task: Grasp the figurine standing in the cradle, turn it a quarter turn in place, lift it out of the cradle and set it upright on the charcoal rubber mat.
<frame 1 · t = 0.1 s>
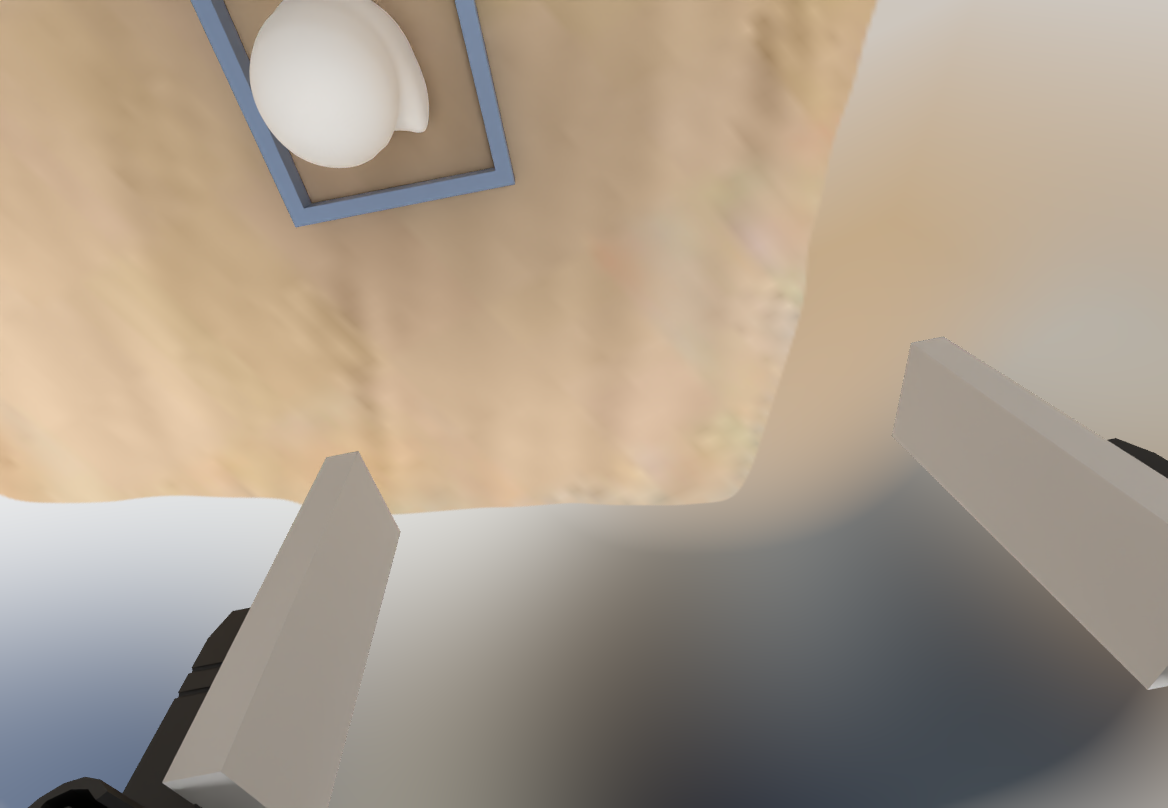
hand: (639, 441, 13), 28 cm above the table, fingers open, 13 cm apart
cradle: (367, 75, 31), on the table
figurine: (368, 75, 31), resting in cradle
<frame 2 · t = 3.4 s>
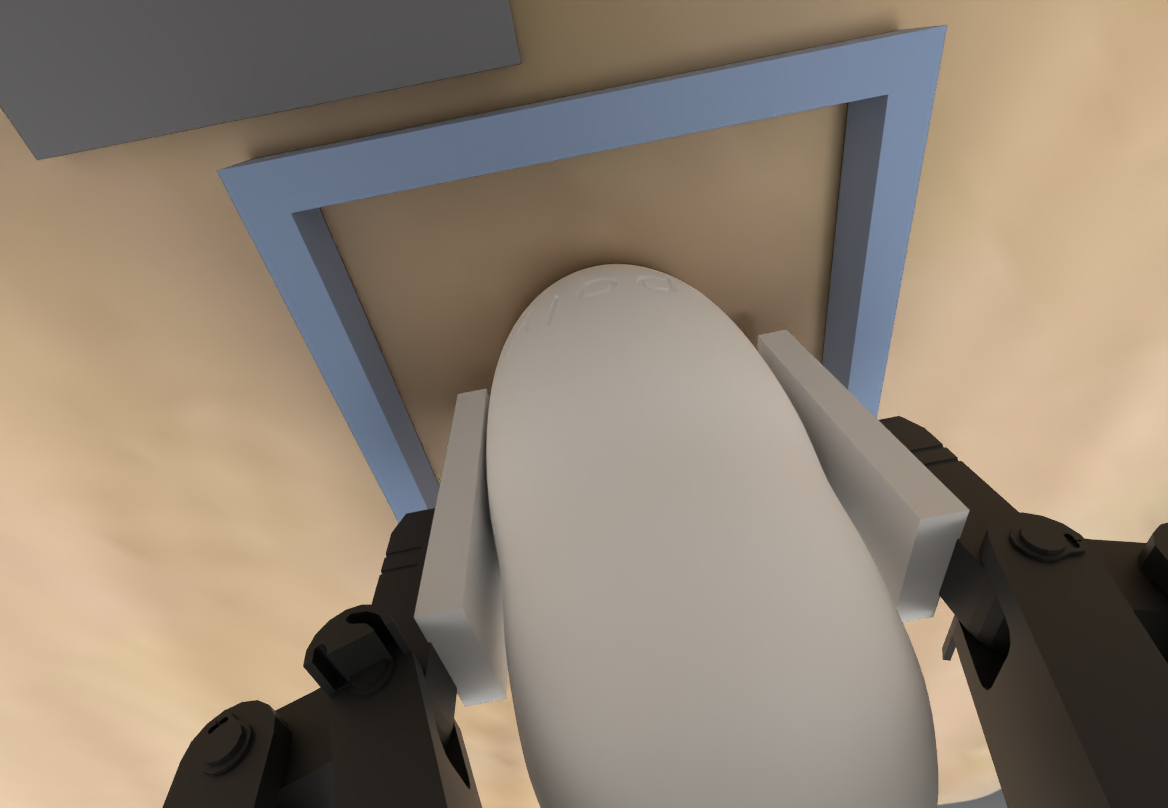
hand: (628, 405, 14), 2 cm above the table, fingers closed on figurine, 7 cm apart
cradle: (616, 376, 15), on the table
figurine: (613, 373, 16), resting in cradle, touching gripper
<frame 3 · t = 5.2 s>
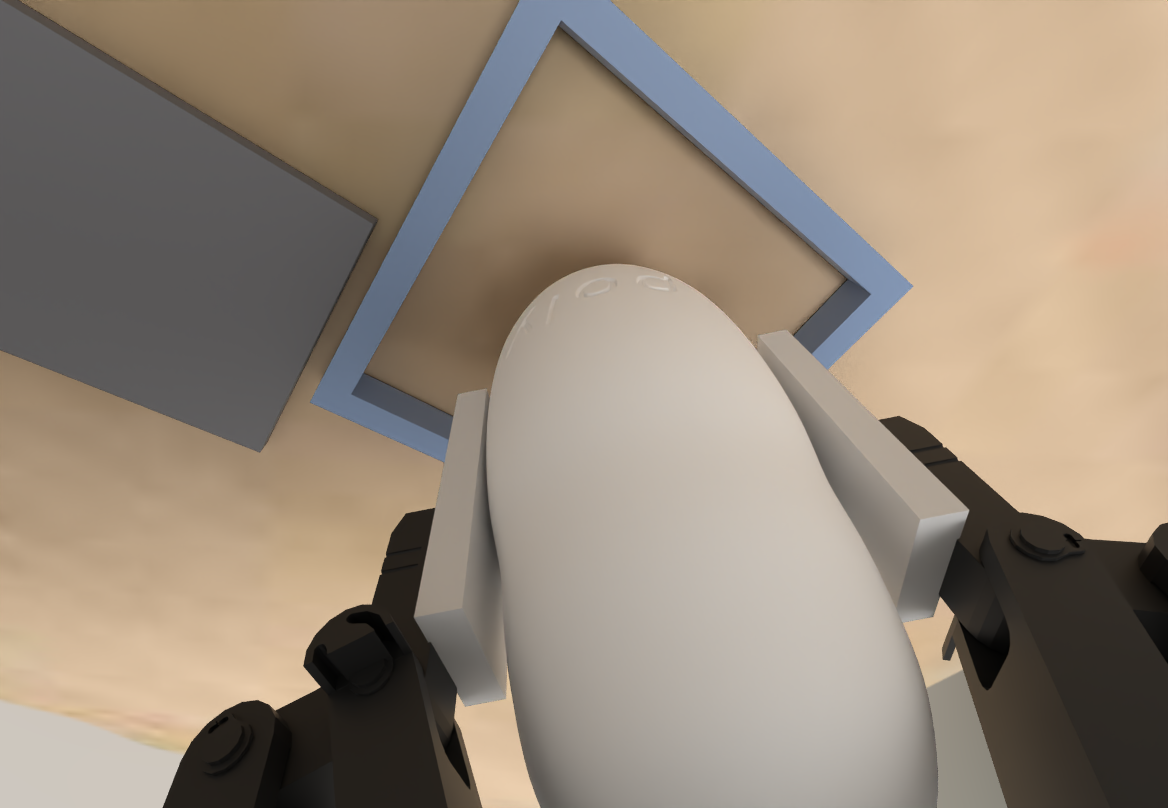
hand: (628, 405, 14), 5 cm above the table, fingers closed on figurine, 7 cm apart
mat: (153, 263, 16), on the table
cradle: (604, 326, 19), on the table
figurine: (613, 373, 16), point 4 cm above the table, touching gripper
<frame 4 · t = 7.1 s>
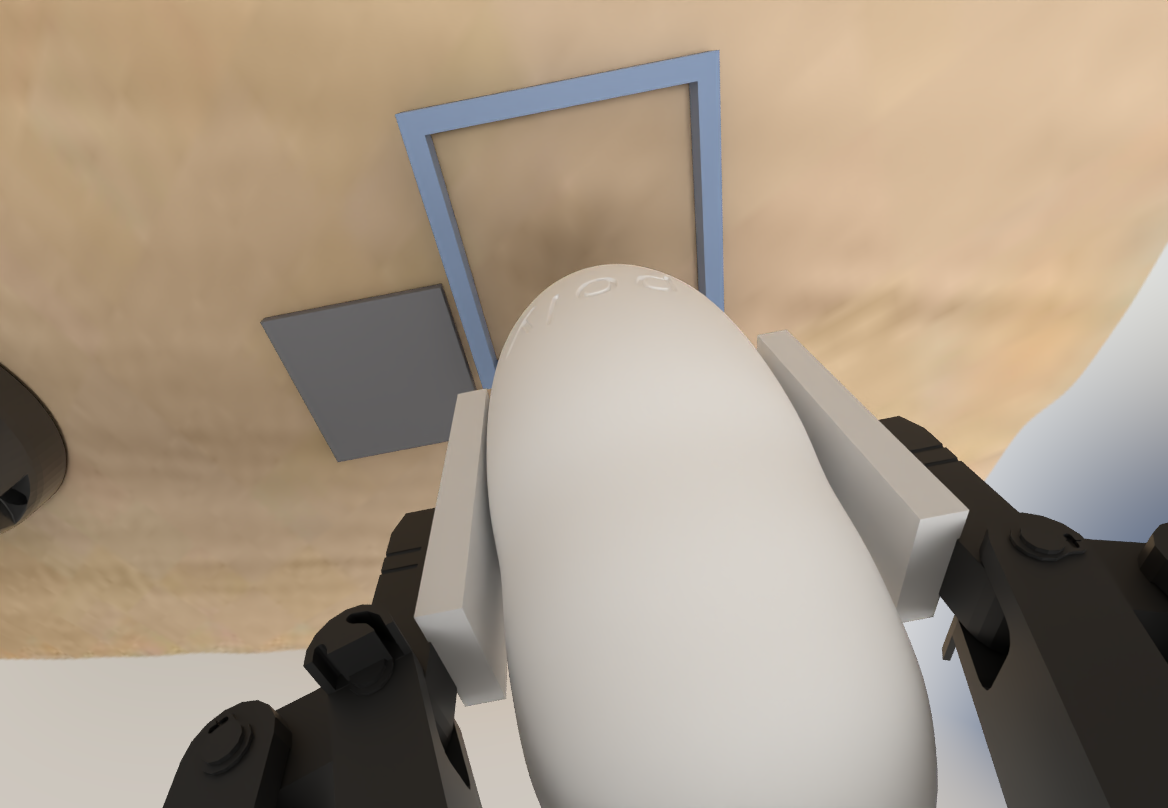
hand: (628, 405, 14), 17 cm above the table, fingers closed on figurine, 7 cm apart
mat: (386, 377, 31), on the table
cradle: (581, 237, 28), on the table
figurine: (613, 373, 16), point 15 cm above the table, touching gripper
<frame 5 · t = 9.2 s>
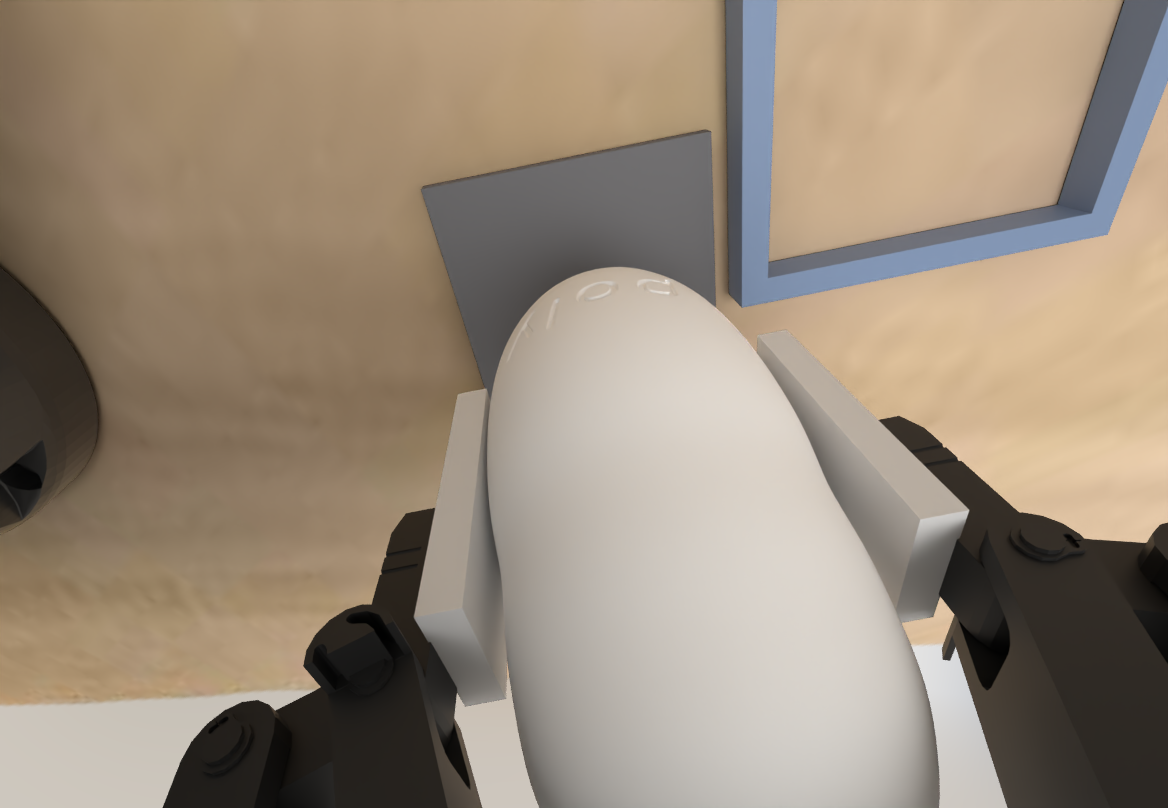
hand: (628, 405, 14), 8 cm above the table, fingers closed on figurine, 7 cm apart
mat: (587, 292, 21), on the table
cradle: (937, 50, 17), on the table
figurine: (614, 376, 16), point 6 cm above the table, touching gripper
when the fingers open (3 cm above the table, at t = 10.8 s): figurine drops 1 cm, resting on mat.
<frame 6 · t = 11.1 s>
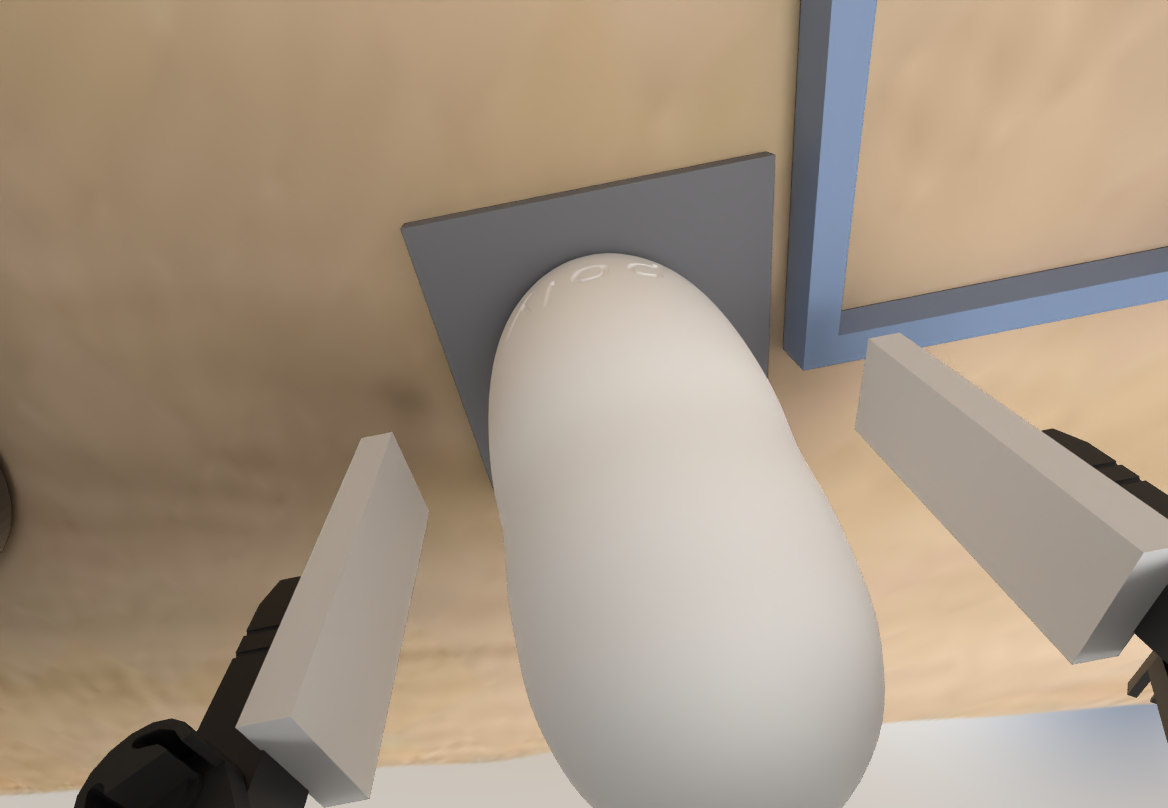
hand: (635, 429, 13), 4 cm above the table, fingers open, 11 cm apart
mat: (610, 349, 17), on the table
cradle: (1071, 49, 13), on the table
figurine: (606, 357, 16), resting on mat
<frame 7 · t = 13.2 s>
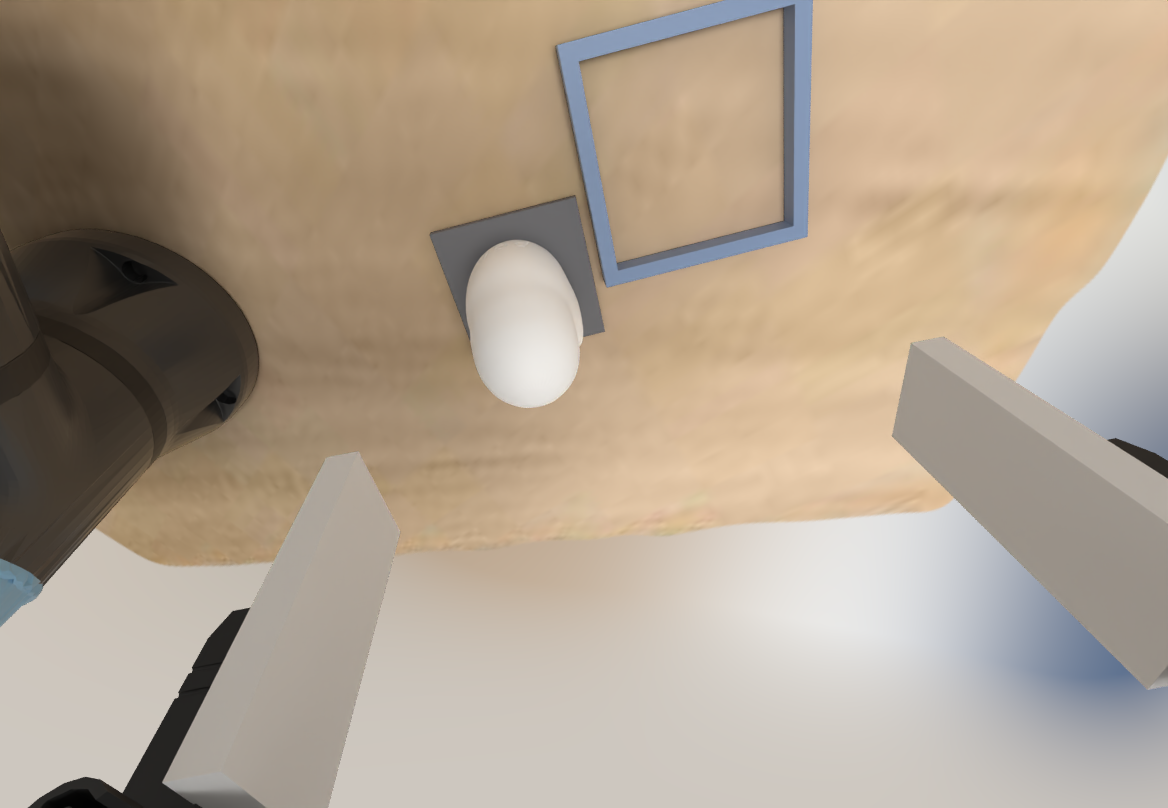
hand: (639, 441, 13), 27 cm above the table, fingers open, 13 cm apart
mat: (523, 283, 38), on the table
cradle: (690, 148, 34), on the table
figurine: (520, 286, 37), resting on mat
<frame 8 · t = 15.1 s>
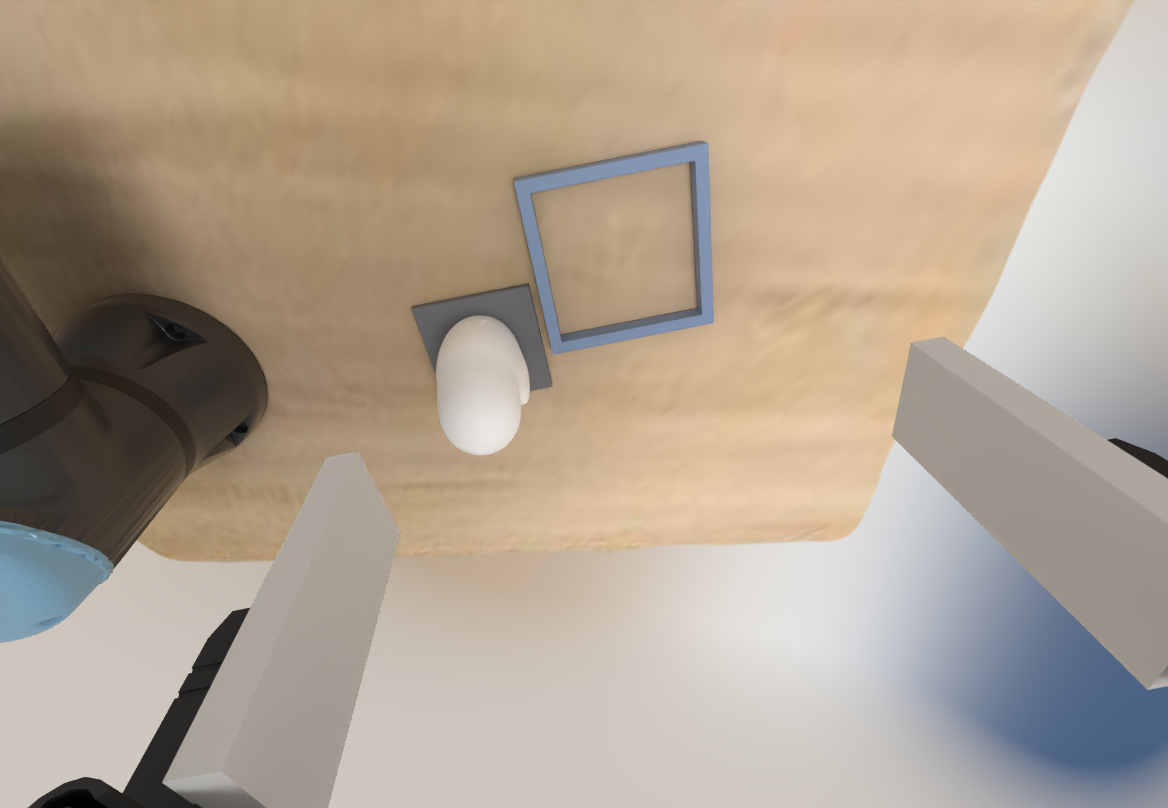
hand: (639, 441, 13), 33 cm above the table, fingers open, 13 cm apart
mat: (486, 347, 47), on the table
cradle: (620, 253, 43), on the table
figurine: (484, 349, 46), resting on mat
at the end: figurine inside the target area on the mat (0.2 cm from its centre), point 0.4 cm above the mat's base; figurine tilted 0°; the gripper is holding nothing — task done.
